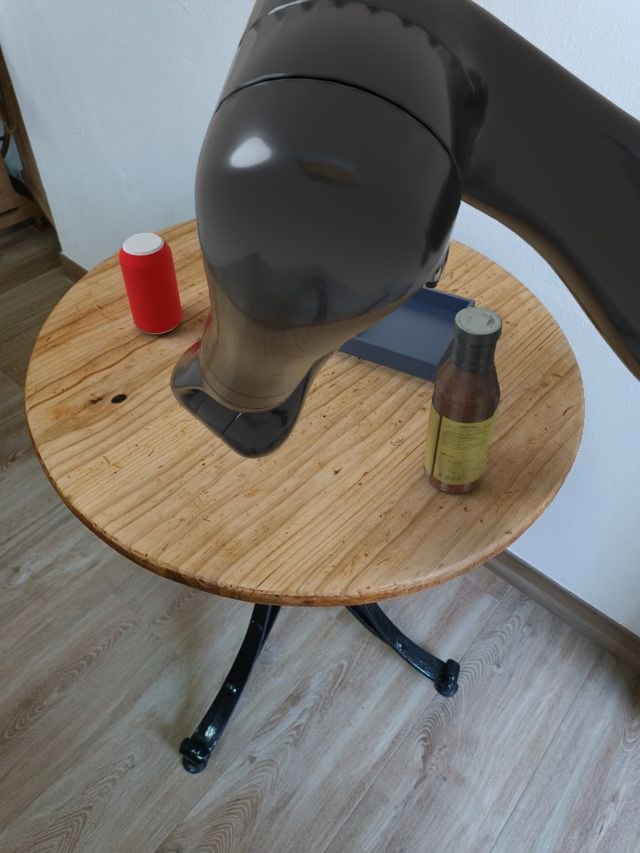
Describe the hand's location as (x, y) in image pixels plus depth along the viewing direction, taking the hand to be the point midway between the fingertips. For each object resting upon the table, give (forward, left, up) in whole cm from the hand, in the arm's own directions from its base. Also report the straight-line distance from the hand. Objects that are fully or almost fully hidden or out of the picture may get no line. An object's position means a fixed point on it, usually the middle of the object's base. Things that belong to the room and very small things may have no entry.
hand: (417, 214), depth 74 cm
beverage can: (+29, +11, -18) cm, 36 cm away
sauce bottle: (-13, +18, -18) cm, 28 cm away
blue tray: (0, -2, -18) cm, 18 cm away
